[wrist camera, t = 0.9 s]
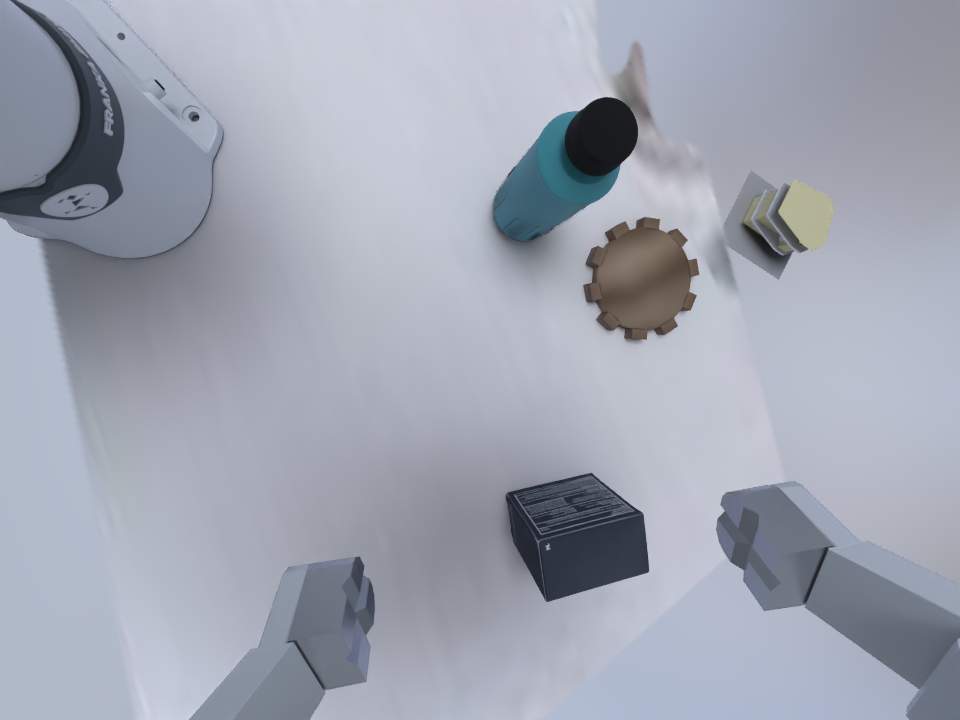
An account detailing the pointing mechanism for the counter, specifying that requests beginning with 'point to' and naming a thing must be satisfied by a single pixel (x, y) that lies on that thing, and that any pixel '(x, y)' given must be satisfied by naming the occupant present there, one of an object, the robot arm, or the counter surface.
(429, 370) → the counter surface
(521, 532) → the small box
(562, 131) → the beverage bottle
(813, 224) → the stacked layers on plate
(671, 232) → the gear plate
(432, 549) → the counter surface
